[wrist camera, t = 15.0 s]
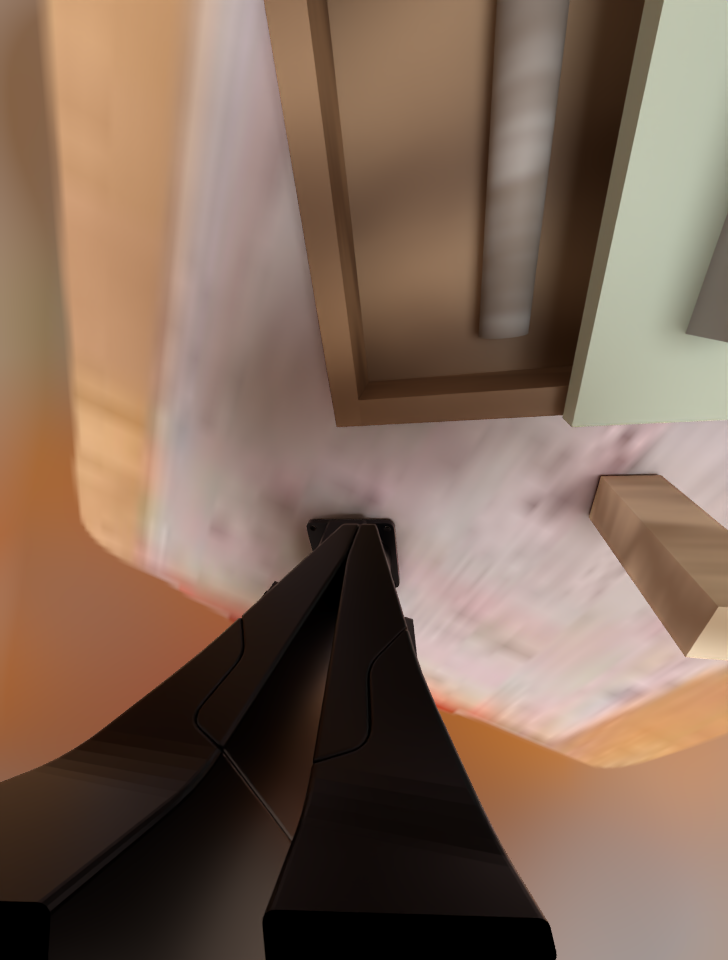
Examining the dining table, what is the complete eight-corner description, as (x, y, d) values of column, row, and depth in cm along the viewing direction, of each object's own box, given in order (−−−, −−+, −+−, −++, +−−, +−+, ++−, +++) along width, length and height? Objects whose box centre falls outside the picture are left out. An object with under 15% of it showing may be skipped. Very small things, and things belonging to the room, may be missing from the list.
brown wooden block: (644, 517, 20) (778, 664, 12) (589, 517, 20) (685, 657, 13) (661, 475, 18) (827, 612, 11) (601, 476, 19) (718, 606, 11)
